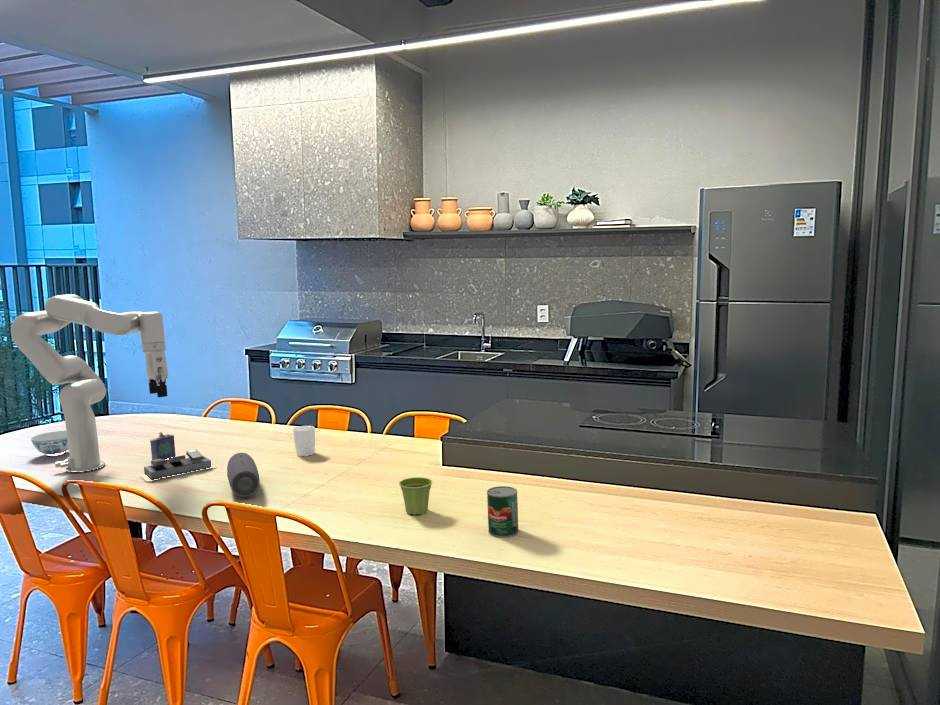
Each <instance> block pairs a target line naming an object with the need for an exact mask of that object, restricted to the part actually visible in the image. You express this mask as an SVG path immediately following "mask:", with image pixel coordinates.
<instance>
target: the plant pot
mask: <svg viewBox="0 0 940 705" xmlns="http://www.w3.org/2000/svg"><path fill="white" fill-rule="evenodd" d="M432 484H433V480H432V479H431V478H427V477H419V476H418V477H417V476H416V477H408V478H404V479H402V480H400V481H399V482H398V485H399V487H400V489H401V492H402V497H403V501H404V502H403V503H404V509H405V512H407V513H406V514H407V515H410V514H413V515H412V516H414V515H419V514H421V515H424V514H427V512H428V510H429V500H430V499H429V498H430V491H431V488H432ZM423 513H424V514H423Z"/></svg>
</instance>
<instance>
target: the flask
mask: <svg viewBox="0 0 940 705" xmlns="http://www.w3.org/2000/svg"><path fill="white" fill-rule="evenodd" d="M158 434H159V435H158ZM157 435H158V437H156V438H152V439H150V442H149V443H150V452H151V461H153V460H158V459H167V458H171V457H175V456H176V446H175V435H174V434H169V433H168V434H167V433H166V434H163V432H162V431H160V432H159V433H157Z"/></svg>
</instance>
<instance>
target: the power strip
mask: <svg viewBox="0 0 940 705" xmlns="http://www.w3.org/2000/svg"><path fill="white" fill-rule="evenodd" d="M167 462H168V463H167V464H162V465H157V466H156V465H148V466H143V472H144V473H143V474H145V475H147V476H148V477H149V478H150V479H151V480H154V479H159V478H162V477H167V476H172V475H177V474H182V473H187V472H191V471H196V470H200V469H206V468H210V467H211V464H212V460H211V459H210V458H208V457H206V456H204V455H203V459H202V460H197V461H192V460H191V459H190V458H189V457H187V458H186V457H185V459H181V460H177V461H172V462H169V461H167Z"/></svg>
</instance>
